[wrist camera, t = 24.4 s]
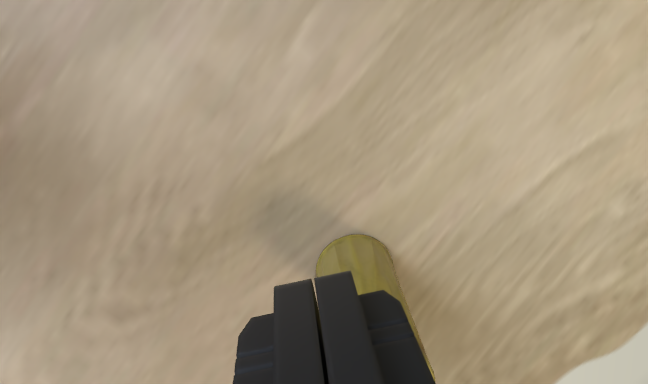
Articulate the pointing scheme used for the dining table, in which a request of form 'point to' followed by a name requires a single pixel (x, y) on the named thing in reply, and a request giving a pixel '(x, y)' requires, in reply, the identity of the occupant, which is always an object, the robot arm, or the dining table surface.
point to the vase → (366, 270)
